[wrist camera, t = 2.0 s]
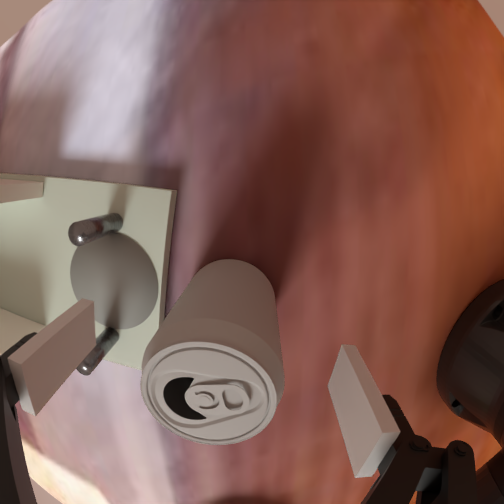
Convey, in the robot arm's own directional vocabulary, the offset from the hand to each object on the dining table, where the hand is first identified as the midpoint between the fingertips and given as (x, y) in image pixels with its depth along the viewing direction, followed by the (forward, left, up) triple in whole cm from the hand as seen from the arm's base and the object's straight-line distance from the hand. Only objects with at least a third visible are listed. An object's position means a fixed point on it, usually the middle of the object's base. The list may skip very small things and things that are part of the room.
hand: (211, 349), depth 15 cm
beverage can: (0, 0, -8) cm, 8 cm away
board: (+16, 0, -8) cm, 18 cm away
